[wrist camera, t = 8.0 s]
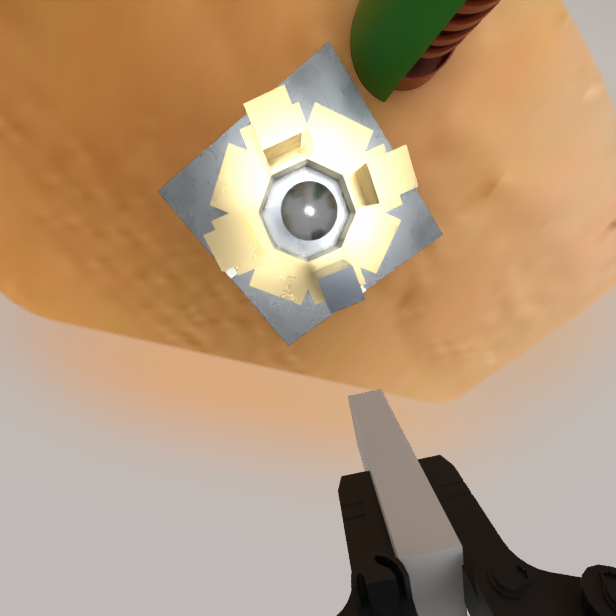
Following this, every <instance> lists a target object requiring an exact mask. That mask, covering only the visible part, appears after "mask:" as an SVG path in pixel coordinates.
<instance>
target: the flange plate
mask: <svg viewBox="0 0 616 616" xmlns="http://www.w3.org/2000/svg"><path fill="white" fill-rule="evenodd" d="M282 85H285V88H286V90H287V93H288V96H289V98H290V101H291V103H292V105H293V104H295V103H298V102H299V104H300V107H301V110H302V113H303V115H304V118H305V121H306V123H308V121H309V118H310V115H311V112H312V110H313V107H314V104H315V102H316V103H318V104H320V105H322V106H324V107H326V108H328V109H330V110H332V111H334V112H336V113H338V114H340V115H342V116H344V117H346V118H348V119H350V120H353V121H355V122H357V123H359V124H361V125H363V126H365V127H367V128H369V129H371V130H373V133H372V135H371V138H370V140H369V143H368V145H367V147H366V150H365V152H366V151H368V150H371V149H373V148H375V147H377V146H379V145H382V144H384V146H385V149H386V152H387V153H388V152H390V151H393V149H392V147H391V146H390V144H389V142H388V140H387V139H386V137H385V135H384V134H383V132H382V130H381V129H380V127H379V125H378V123H377V122H376V120H375V118H374V117H373V115H372V113H371V112H370V110H369V108H368V107H367V105H366V103H365V101H364V100H363V98H362V96H361V95H360V93H359V91H358V90H357V88H356V86H355V84H354V83H353V81H352V79H351V78H350V76H349V74H348V73H347V71H346V69H345V68H344V66H343V64H342V62H341V61H340V59H339V57H338V56H337V54H336V52H335V51H334V49H333V47H332V45H331V44H330V42H328V43H327V44H326V45H325V46H323V47H322V48H321V49H320V50H319V51H318V52H317V53H315V54H314V55H313V56H312V57H311V58H310V59H309V60H307V61H306V62H305V63H304V64H303V65H302V66H301V67H299V68H298V69H297V70H296V71H295V72H294V73H293V74H291V75H290V76H289V77H288V78H287V79H286V80H285V81H283V82H282V83H281V84H280V85H279V86H278V87H280V86H282ZM278 87H277V88H278ZM275 89H276V88H275ZM249 125H251V121H250V119H249V117H248V114H246V115H244V116H243V117H242V118H241V119H240V120H239V121H238V122H236V123H235V124H234V125H233V126H232V127H231V128H230V129H228V130H227V131H226V132H225V133H224V134H223V135H222V136H220V137H219V138H218V139H217V140H216V141H215V142H214V143H212V144H211V145H210V146H209V147H208V148H207V149H205V150H204V151H203V152H202V153H201V154H200V155H199V156H197V157H196V158H195V159H194V160H193V161H192V162H191V163H189V164H188V165H187V166H186V167H185V168H184V169H183V170H181V171H180V172H179V173H178V174H177V175H176V176H175V177H173V178H172V179H171V180H170V181H169V182H168V183H167V184H165V185H164V186H163V187H162V188H161V189H160V190H159V191H158V192H159V194H160V195H161V196H162V197H163V198H164V200H165V201H166V202H167V203H168V204H169V205H170V207H171V208H172V209H173V210H174V211H175V213H176V214H177V215H178V216H179V217H180V218H181V220H182V221H183V222H184V223H185V224H186V226H187V227H188V228H189V229H190V230H191V231H192V233H193V234H194V235H195V236H196V237H197V239H198V240H199V241H200V242H201V243H202V244H203V246H204V247H205V248H206V249H207V250H208V252H209V253H210V254H211V255H212V256H213V257H214V255H213V253H212V252H211V250H210V248H209V246H208V244H207V242H206V240H205V238H204V236H203V235H205V234H207V233H210V232H212V231H214V230H215V228H214V226H213V224H212V222H211V221H213V220H215V219H217V218H220V217H222V216H224V215H226V214H228V213H227V212H225V211H223V210H220V209H218V208H215V207H213V206H210V203H211V199H212V196H213V193H214V189H215V186H216V183H217V180H218V176H219V173H220V170H221V166H222V163H223V160H224V156H225V153H226V150H227V146H228V143H230V144H233V145H235V146H237V147H239V148H242V149H244V150H246V151H248V149H247V146H246V144H245V142H244V139H243V137H242V135H241V132H240V129H242V128H244V127H247V126H249ZM248 152H249V151H248ZM400 198H401V201H402V205H400V206H398V207H396V208H393V209H391V210H389V211H386V212H385V213H387V214H389V215H391V216H393V217H396V218H398V219H400V220H401V222H400V224H399V226H398V228H397V230H396V233H395V235H394V237H393V239H392V241H391V243H390V245H389V248H388V250H387V252H386V254H385V256H384V258H383V260H382V262H381V265H380V267H379V269H378V271H377V273H373V272H371V271H368V270H366V269H364V268H361V267H360V269H361V272H362V275H363V277H364V280H365V283H366V284H364V285H361V286H360V287H361V289H362V292H365V291H366V290H367V289H368V288H369V287H371V286H372V285H373V284H375V283H376V282H378V281H379V280H380V279H382V278H383V277H385V276H386V275H387V274H389V273H390V272H392V271H393V270H394V269H396V268H397V267H398V266H400V265H401V264H403V263H404V262H405V261H407V260H408V259H410V258H411V257H412V256H414V255H415V254H417V253H418V252H419V251H421V250H422V249H423V248H425V247H426V246H428V245H429V244H430V243H432V242H433V241H435V240H436V239H437V238H439V237H440V236H441V235H443V234H442V232H441V230H440V229H439V227H438V225H437V224H436V222H435V220H434V218H433V217H432V215H431V213H430V212H429V210H428V208H427V207H426V205H425V203H424V202H423V200H422V198H421V196H420V195H419V193H418V191H417V190H416V188H414V189H412V190H409V191H407V192H405V193H402V194H400ZM262 216H263V219H264V221H265V223H266V225H267V228H268V230H269V232H270V234H271V237H272V239H273V241H274V243H275V246H277V247H279V248H282V249H284V250H287V251H289V252H292V253H294V254H297V255H299V256H302V257H304V258H306V259H307V258H309V257H311V256H314V255H316V254H318V253H320V252H323V251H325V250H327V249H330V248H332V247H334V246H337V244H338V242H339V239H340V237H341V234H342V232H343V230H344V227H345V225H346V223H347V220H348V218H349V216H350V211H349V208H348V205H347V203H346V200H345V197H344V194H343V192H342V189H341V186H340V183H339V180H338V179H336V178H334V177H331V176H329V175H327V174H325V173H323V172H320V171H318V170H316V169H314V168H312V167H309V166H307V165H305V166H302V167H300V168H298V169H296V170H294V171H291V172H289V173H287V174H285V175H283V176H280V177H278V178H276V179H274V180H273V182H272V185H271V188H270V191H269V194H268V196H267V199H266V202H265V205H264V208H263V211H262ZM214 259H215V257H214ZM215 260H216V259H215ZM254 271H255V269H253V270H250V271H248V272H246V273H243V274H241V275H239V276H238V274H237V272H236V270H235V268H234V267H233V268H231V269H228V270H226V271H225V272H226V274H227V275H228V276H229V277H230V278H231V279H232V280H233V281H234V282H235V283H236V285H237V286H238V287H239V288H240V289H241V291H242V292H243V293H244V294H245V295H246V296H247V298H248V299H249V300H250V301H251V302H252V304H253V305H254V306H255V307H256V308H257V309H258V311H259V312H260V313H261V314H262V315H263V317H264V318H265V319H266V320H267V321H268V322H269V324H270V325H271V326H272V327H273V328H274V330H275V331H276V332H277V333H278V334H279V335H280V337H281V338H282V339H283V340H284V341H285V343H286V344H287V345H288V346H289V345H290V344H292V343H293V342H294V341H296V340H297V339H299V338H300V337H301V336H303V335H304V334H306V333H307V332H308V331H310V330H311V329H312V328H314V327H315V326H317V325H318V324H319V323H321V322H322V321H324V320H325V319H326V318H328V317H329V316H330V315H332V314H333V313H331V312H330V310H329V308H328V305H327V303H326V301H323V302H321V303H318V304H316V305H315V304H314V301H313V299H312V297H311V294H310V292H309V290H307V292H306V295H305V297H304V300H303V302H302V305H299V304H297V303H294V302H292V301H289V300H286V299H284V298H281V297H278V296H276V295H273V294H270V293H268V292H265V291H262V290H260V289H257V288H255V287H252V286H249V285H250V282H251V279H252V276H253V274H254ZM334 313H335V312H334Z"/></svg>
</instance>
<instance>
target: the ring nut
mask: <svg viewBox="0 0 616 616" xmlns="http://www.w3.org/2000/svg"><path fill="white" fill-rule="evenodd" d="M243 105H244V107H245V109H246V112H247V114H248V117H249V119H250V121H251V125H249V126H247V127H244V128H242V129H240V132H241V135H242V137H243V139H244V142H245V144H246V146H247V149H248V151H249V152H248V151H246V150H244V149H242V148H239V147H237V146H235V145H233V144H230V143H228V146H227V150H226V153H225V156H224V160H223V163H222V166H221V170H220V173H219V176H218V180H217V183H216V186H215V189H214V193H213V196H212V199H211V203H210V206H213V207H215V208H218V209H220V210H223V211H225V212H227V213H228V214H226V215H224V216H222V217H220V218H217V219H215V220H213V221H211V222H212V224H213V226H214V228H215V230H214V231H212V232H210V233H207V234H205V235H203V236H204V238H205V240H206V242H207V244H208V246H209V248H210V250H211V252H212V253H213V255H214V257H215V259H216V261H217V263H218V265H219V267H220V269H221V271H222V272H224V271H226V270H228V269H231V268H233V267H234V268H235V270H236V272H237V274H238V276H239V275H241V274H243V273H246V272H248V271H250V270H253V269H255V271H254V274H253V276H252V279H251V282H250V285H249V286H252V287H255V288H257V289H260V290H262V291H265V292H268V293H270V294H273V295H276V296H278V297H281V298H284V299H286V300H289V301H292V302H294V303H297V304H299V305H302V302H303V300H304V297H305V295H306V292H307V290H309V292H310V294H311V297H312V299H313V301H314V304H315V305H316V304H318V303H321V302H323V301H326V303H327V305H328V308H329V310H330V312H331V313H334V312H336V311H338V310H341V309H343V308H346V307H348V306H350V305H353V304H355V303H358V302H360V301H363V300H365V297H364V295H363V292H362V289H361V287H360V286H361V285H364V284H366V283H365V280H364V277H363V275H362V272H361V269H360V267H361V268H364V269H366V270H368V271H371V272H373V273H377V271H378V269H379V267H380V265H381V262H382V260H383V258H384V256H385V254H386V252H387V250H388V248H389V245H390V243H391V241H392V239H393V237H394V235H395V233H396V230H397V228H398V226H399V224H400V222H401V220H400V219H398V218H396V217H393V216H391V215H389V214H387V213H385V212H386V211H389V210H391V209H393V208H396V207H398V206H400V205H402V201H401V198H400V194H402V193H405V192H407V191H409V190H412V189H414V188H416V187H418V184H417V180H416V177H415V173H414V170H413V166H412V163H411V159H410V156H409V152H408V149H407V145H404V146H402V147H399V148H397V149H395V150H393V151H390V152H388V153H387V152H386V149H385V146H384V144H382V145H379V146H377V147H375V148H373V149H371V150H368V151H366V152H365V150H366V147H367V145H368V143H369V140H370V138H371V135H372V133H373V130H371V129H369V128H367V127H365V126H363V125H361V124H359V123H357V122H355V121H353V120H350V119H348V118H346V117H344V116H342V115H340V114H338V113H336V112H334V111H332V110H330V109H328V108H326V107H324V106H322V105H320V104H318V103H316V102H315V104H314V107H313V110H312V112H311V115H310V118H309V121H308V123H306V121H305V118H304V115H303V113H302V110H301V107H300V104H299V102H298V103H295V104H293V105H292V103H291V101H290V98H289V96H288V93H287V90H286V88H285V85H282V86H280V87H278V88H276V89H274V90H272V91H270V92H267V93H265V94H263V95H261V96H259V97H257V98H255V99H253V100H251V101H249V102H246V103H244V104H243ZM305 165H307V166H309V167H312V168H314V169H316V170H318V171H320V172H323V173H325V174H327V175H329V176H331V177H334V178H336V179H338V180H339V183H340V186H341V189H342V192H343V194H344V197H345V200H346V203H347V205H348V208H349V211H350V216H349V218H348V220H347V223H346V225H345V227H344V230H343V232H342V234H341V237H340V239H339V242H338V244H337V246H334V247H332V248H330V249H327V250H325V251H323V252H320V253H318V254H316V255H314V256H311V257H309V258H307V259H306V258H304V257H302V256H299V255H297V254H294V253H292V252H289V251H287V250H284V249H282V248H279V247H277V246H275V243H274V241H273V239H272V237H271V234H270V232H269V230H268V228H267V225H266V223H265V221H264V219H263V216H262V211H263V208H264V205H265V202H266V199H267V196H268V194H269V191H270V188H271V185H272V182H273V180H274V179H276V178H278V177H280V176H283V175H285V174H287V173H289V172H291V171H294V170H296V169H298V168H300V167H302V166H305Z"/></svg>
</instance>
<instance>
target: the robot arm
mask: <svg viewBox="0 0 616 616" xmlns="http://www.w3.org/2000/svg"><path fill="white" fill-rule="evenodd" d="M348 399H349V404H350V409H351V414H352V419H353V424H354V429H355V434H356V439H357V445H358V448H359V452H360V455H361V459H362V462H363V466H364V469H365V472H360V473H355V474H350V475H346V476H342V477H341V481H340V485H339V489H338V493H339V500H340V505H341V511H342V517H343V523H344V529H345V535H346V541H347V547H348V553H349V559H350V565H351V571H352V574H351V588H352V590H351V594H350V597H349V600H348V602H347V604H346V605H345V607H344V608H343V610H342V611H341V612H340V613H339V614H338V615H337V616H467V609H468V612H469V614H470V616H616V568H614V567H610V566H604V565H595V566H591V567H588V568H587V569H586V570H585V572H584V573H583V574H582V578H581V577H575V576H569V575H563V574H557V573H551V572H547V571H543V570H539V569H537V568H535V567H533V566H531V565H529V564H527V563H525V562H524V561H522V560H521V559H520V558H518V557H517V556H516V555H515V554H514V553H513V552H512V551H510V550H509V549H508V547H507V546H506V545H505V543H504V542H503V541H502V539H501V537H500V536H499V534H498V533H497V531H496V530H495V528H494V527H493V525H492V524H491V522H490V521H489V519H488V518H487V516H486V515H485V513H484V511H483V510H482V509H481V507H480V505H479V504H478V502H477V501H476V499H475V498H474V496H473V495H472V494H471V492H470V490H469V488H468V487H467V486H466V484H465V483H464V482H463V479H462V478H461V476H460V475H459V473H458V471H457V470H456V468H455V467H454V466H453V465H452V464H451V463H450V462H448V461H447V460H446V459H445V458H443V457H442V456H441V455H437V456H432V457H428V458H423V459H418V460H417V458H416V456H415V454H414V452H413V451H412V448H411V446H410V444H409V442H408V441H407V439H406V437H405V435H404V433H403V431H402V429H401V427H400V425H399V423H398V421H397V419H396V418H395V415H394V414H393V411H392V410H391V408H390V406H389V404H388V402H387V400H386V398H385V396H384V394H383V392H382V390H381V389H380V390H375V391H370V392H366V393H361V394H356V395H351V396H348Z"/></svg>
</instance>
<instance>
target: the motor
mask: <svg viewBox="0 0 616 616" xmlns="http://www.w3.org/2000/svg"><path fill="white" fill-rule="evenodd" d="M499 1H500V0H359V4H358V7H357V10H356V13H355V16H354V19H353V24H352V29H351V54H352V59H353V63H354V67H355V70H356V72H357V74H358V76H359V78H360V80H361V82H362V83H363V85H364V86H365V87H366V88H367V90H368V91H369V92H370V93H371V94H373V95H374V96H375V97H377V98H378V99H380V100H381V101H383V102H385V100H386V99H387V98H388V97H389V95H390V94H391V93H392V92H393V90H394V89H396V90H411V89H415V88H417V87H419V86H421V85H423V84H424V83H426V82H427V81H428V80H429V79H430V78H431V77H432V76H433V75H434V74H435V73H436V72H437V71H438V70H439V69H440V68H441V67H442V66H443V65H444V64H445V63H446V62H447V61H448V60H449V58H450V57H451V55H452V53H453V52H454V50H455V47H456V46H457V45H458V44H459V43H460V42H461V41H462V40H463V39H464V38H465V37H466V36H467V35H468V34H469V33H470V32H471V31H472V30H473V29H474V28H475V27H476V26H477V25H478V24H479V23H480V21H481V20H482V19H483V18H484V17H485V16H486V15H487V14H488V13H489V12H490V11H491V10H492V9H493V8H494V7H495V6H496V5H497V4H498V3H499Z"/></svg>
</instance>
